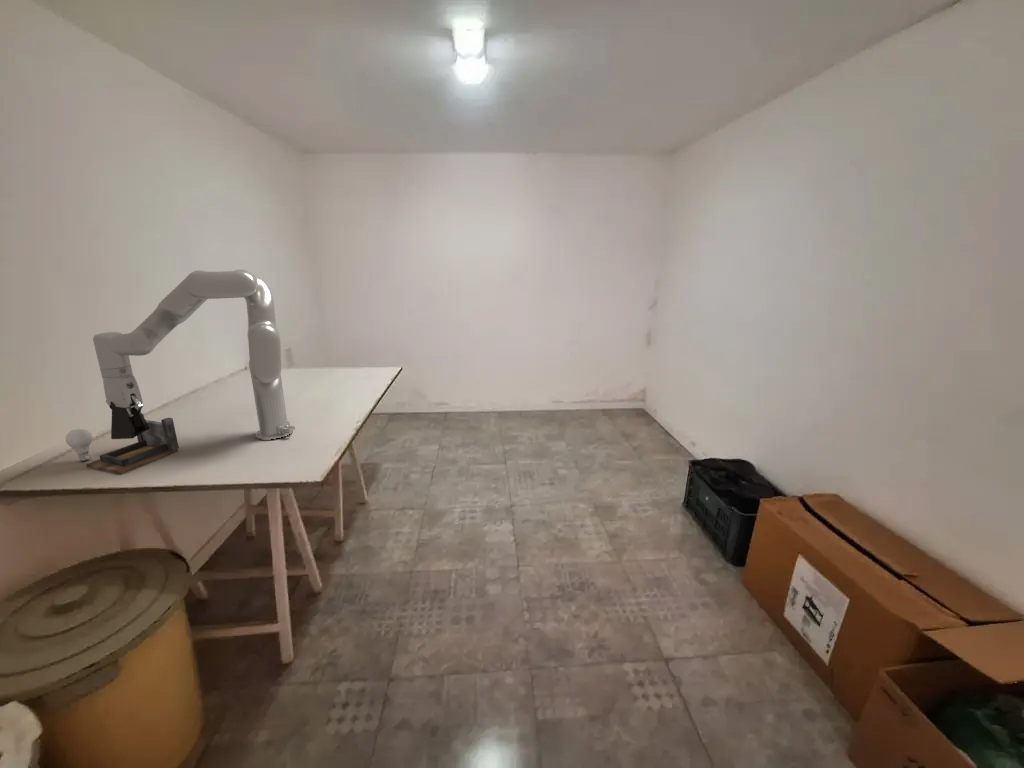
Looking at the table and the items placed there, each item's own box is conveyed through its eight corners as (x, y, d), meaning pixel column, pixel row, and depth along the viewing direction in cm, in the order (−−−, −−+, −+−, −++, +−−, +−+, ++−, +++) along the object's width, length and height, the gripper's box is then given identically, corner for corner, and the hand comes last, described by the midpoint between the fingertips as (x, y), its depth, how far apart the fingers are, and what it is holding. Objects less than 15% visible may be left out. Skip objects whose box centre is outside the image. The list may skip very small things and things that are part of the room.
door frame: (179, 451, 160) (172, 418, 157) (121, 474, 143) (112, 438, 140) (146, 445, 165) (139, 413, 162) (86, 467, 148) (77, 431, 145)
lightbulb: (71, 460, 153) (62, 429, 150) (97, 454, 157) (88, 424, 154) (72, 466, 148) (63, 434, 145) (98, 460, 153) (90, 429, 150)
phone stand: (131, 438, 148) (123, 403, 145) (111, 439, 148) (102, 403, 144) (149, 428, 157) (142, 394, 154) (130, 429, 156) (122, 395, 153)
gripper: (148, 371, 147) (160, 424, 152) (111, 367, 153) (123, 418, 158) (122, 377, 141) (135, 433, 146) (84, 372, 146) (98, 426, 151)
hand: (129, 425), depth 152 cm, fingers closed on phone stand, 6 cm apart
